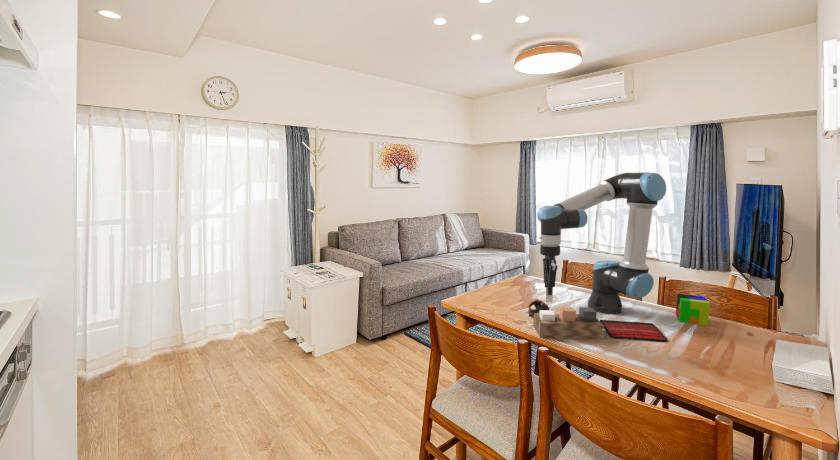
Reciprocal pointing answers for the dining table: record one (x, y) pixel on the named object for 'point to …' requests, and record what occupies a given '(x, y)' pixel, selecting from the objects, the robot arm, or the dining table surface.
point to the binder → (633, 330)
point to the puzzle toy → (692, 309)
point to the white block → (547, 315)
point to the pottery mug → (537, 307)
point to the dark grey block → (587, 314)
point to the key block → (568, 328)
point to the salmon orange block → (567, 314)
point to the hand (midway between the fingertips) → (548, 301)
